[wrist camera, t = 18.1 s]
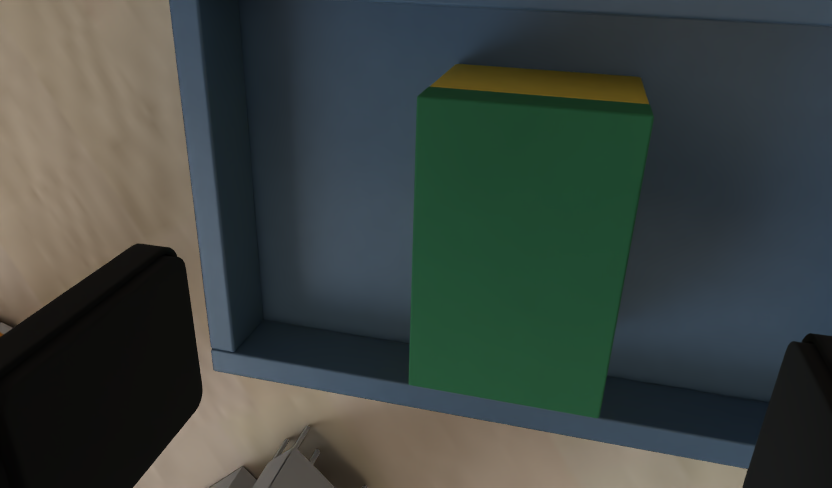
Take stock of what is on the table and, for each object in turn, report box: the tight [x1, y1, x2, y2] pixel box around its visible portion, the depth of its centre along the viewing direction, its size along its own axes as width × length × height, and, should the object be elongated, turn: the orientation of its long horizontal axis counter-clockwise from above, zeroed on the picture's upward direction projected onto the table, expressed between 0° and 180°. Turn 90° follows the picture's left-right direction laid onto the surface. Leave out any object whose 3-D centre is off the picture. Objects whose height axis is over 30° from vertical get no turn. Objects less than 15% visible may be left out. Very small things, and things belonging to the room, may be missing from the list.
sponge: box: [408, 64, 654, 418], centre depth 16 cm, size 7×4×4 cm, turn 178°
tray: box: [169, 0, 832, 469], centre depth 17 cm, size 12×18×3 cm, turn 88°
